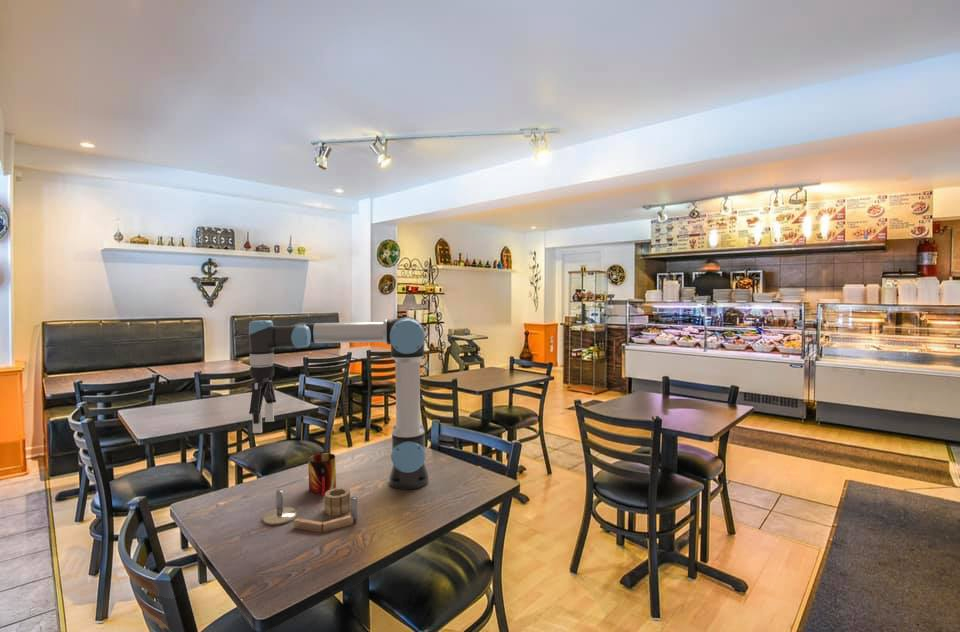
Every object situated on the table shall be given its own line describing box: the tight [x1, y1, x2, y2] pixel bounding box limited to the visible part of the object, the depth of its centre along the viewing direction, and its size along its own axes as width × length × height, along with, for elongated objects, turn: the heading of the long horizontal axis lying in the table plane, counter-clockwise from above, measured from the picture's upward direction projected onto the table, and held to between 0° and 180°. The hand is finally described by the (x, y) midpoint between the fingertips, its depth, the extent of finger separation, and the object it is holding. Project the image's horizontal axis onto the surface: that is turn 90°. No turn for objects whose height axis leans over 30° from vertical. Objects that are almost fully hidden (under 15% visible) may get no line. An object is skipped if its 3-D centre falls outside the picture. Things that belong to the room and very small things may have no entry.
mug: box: [308, 452, 337, 497], centre depth 176 cm, size 10×14×12 cm
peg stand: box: [262, 489, 297, 526], centre depth 155 cm, size 10×10×9 cm
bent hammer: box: [293, 496, 358, 533], centre depth 149 cm, size 19×6×8 cm, turn 98°
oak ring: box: [324, 487, 351, 516], centre depth 161 cm, size 8×8×6 cm
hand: (263, 426), depth 162 cm, fingers open, 13 cm apart
